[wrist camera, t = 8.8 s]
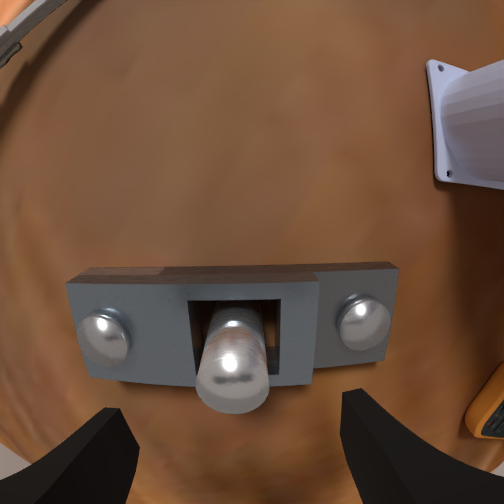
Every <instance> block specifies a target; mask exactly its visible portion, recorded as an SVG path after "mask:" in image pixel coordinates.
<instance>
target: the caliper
mask: <svg viewBox="0 0 504 504" xmlns="http://www.w3.org/2000/svg"><path fill="white" fill-rule="evenodd" d="M65 1H67V0H36V1H35V2H33V3H32V4H31V5H30V6H29V7H28V8H26V9H25V10H24V11H23V12H22V13H21V14H20V15H19V16H18V17H16V18H15V19H14V20H13V21H12V22H11V23H10V24H9V25H8V26H6V25H2V26H1V27H0V68H2V67H3V66H4V65H6V64H7V63H8V61H9V60H10V58H11V57H12V56H13V55H14V54H16V53H17V52H18V51H20V50H21V49H22V45H21V43H20V42H19V41H20V40H21V39H22V38H23V37H24V36H25V35H26V34H27V33H28V32H30V31H31V30H32V29H33V28H34V27H35V26H36V25H37V24H38V23H40V22H41V21H42V20H43V19H44V18H45V17H47V16H48V15H49V14H50V13H51V12H53V11H54V10H55V9H56V8H58V7H59V6H60V5H62V4H63V3H64V2H65Z"/></svg>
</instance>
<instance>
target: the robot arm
mask: <svg viewBox="0 0 504 504" xmlns="http://www.w3.org/2000/svg"><path fill="white" fill-rule="evenodd" d="M438 67H439V68H440V69H441V71H440V70H439V69H438ZM426 68H427V75H428V82H429V89H430V98H431V108H432V119H433V134H434V159H435V176H436V178H437V179H438V180H439V181H443V182H452V183H460V184H468V185H475V186H483V187H489V188H496V189H502V190H504V60H502V61H499V62H496V63H493V64H490V65H488V66H485V67H482V68H480V69H477V70H474V71H472V72H468V71H465V70H463V69H460V68H457V67H454V66H451V65H448V64H445V63H442V62H439V61H436V60H429V61H428V62H427V63H426ZM447 171H448V172H449V177H447ZM340 437H341V441H342V445H343V449H344V453H345V457H346V461H347V463H348V466H349V469H350V471H351V474H352V476H353V479H354V481H355V484H356V487H357V489H358V492H359V494H360V497H361V499H362V502H363V504H504V477H502V476H498V475H495V474H492V473H489V472H486V471H483V470H480V469H478V468H475V467H472V466H470V465H467V464H465V463H463V462H461V461H459V460H456V459H454V458H453V457H451V456H449V455H447V454H445V453H443V452H441V451H440V450H438V449H436V448H435V447H433V446H432V445H430V444H429V443H427V442H426V441H424V440H423V439H421V438H420V437H418V436H417V435H416V434H414V433H413V432H411V431H410V430H409V429H408V428H406V427H405V426H404V425H403V424H401V423H400V422H399V421H398V420H396V419H395V418H394V417H393V416H392V415H390V414H389V413H388V412H387V411H386V410H385V409H384V408H382V407H381V406H380V405H379V404H378V403H377V402H376V401H375V400H374V399H373V398H372V397H371V396H370V395H368V394H367V393H366V392H365V391H364V390H363V389H362V388H360V389H355V390H351V391H346V392H342V410H341V425H340ZM139 449H140V447H139V445H138V443H137V441H136V439H135V438H134V436H133V434H132V432H131V430H130V428H129V426H128V424H127V422H126V420H125V418H124V416H123V414H122V412H121V410H120V408H106V407H105V408H103V409H102V410H101V411H99V412H98V413H97V414H96V415H95V416H93V417H92V418H91V419H90V420H89V421H87V422H86V423H85V424H84V425H83V426H82V427H80V428H79V429H78V430H77V431H76V432H74V433H73V434H72V435H71V436H70V437H68V438H67V439H66V440H65V441H64V442H62V443H61V444H60V445H58V446H57V447H56V448H54V449H53V450H52V451H50V452H49V453H48V454H46V455H45V456H44V457H42V458H41V459H39V460H38V461H36V462H35V463H33V464H32V465H30V466H28V467H27V468H25V469H23V470H21V471H19V472H17V473H16V474H13V475H11V476H9V477H7V478H4V479H2V480H0V504H125V503H126V500H127V497H128V494H129V491H130V488H131V485H132V482H133V479H134V475H135V472H136V467H137V462H138V456H139Z"/></svg>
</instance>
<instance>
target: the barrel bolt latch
mask: <svg viewBox="0 0 504 504" xmlns="http://www.w3.org/2000/svg"><path fill="white" fill-rule="evenodd" d="M398 272H399V268H397V267H396V266H394V265H392V264H391V263H389V262H362V263H331V264H296V265H254V266H202V267H116V268H89V269H87V270H86V271H84V272H82V273H81V274H79V275H78V276H76V277H74V278H73V279H71V280H70V281H68V282H67V283H66V288H67V293H68V298H69V303H70V307H71V312H72V316H73V320H74V324H75V328H76V332H77V341H78V344H79V346H80V348H81V350H82V354H83V357H84V361H85V364H86V367H87V370H88V373H89V376H90V377H95V378H102V379H109V380H117V381H126V382H135V383H145V384H157V385H171V386H190V387H196V379H197V375H198V371H199V367H200V363H201V358H202V354H203V350H204V347H203V342H202V332H201V321H200V310H199V300H261V299H275V347H265V350H266V359H267V369H268V378H269V387H271V386H290V385H305V384H312V374H313V368H325V367H335V366H345V365H354V364H362V363H369V362H377V361H383V360H384V358H385V354H386V349H387V344H388V338H389V333H390V327H391V322H392V316H393V309H394V303H395V296H396V288H397V280H398Z"/></svg>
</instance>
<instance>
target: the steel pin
mask: <svg viewBox="0 0 504 504" xmlns="http://www.w3.org/2000/svg"><path fill="white" fill-rule="evenodd" d="M196 390H197V393H198V395H199V397H200V399H201V400H202V401H203V402H204V403H205V404H206V405H207V406H209V407H210V408H212V409H214V410H216V411H219V412H222V413H227V414H241V413H246V412H249V411H252V410H254V409H256V408H257V407H259V406H260V405H261V404H262V403H263V402H264V401H265V400H266V398H267V396H268V393H269V378H268V369H267V359H266V350H265V340H264V331H263V321H262V312H261V307H260V305H259V303H258V302H257V300H218V301H217V303H216V304H215V307H214V310H213V314H212V318H211V322H210V326H209V330H208V334H207V338H206V342H205V346H204V350H203V354H202V358H201V363H200V367H199V371H198V375H197V379H196Z"/></svg>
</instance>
